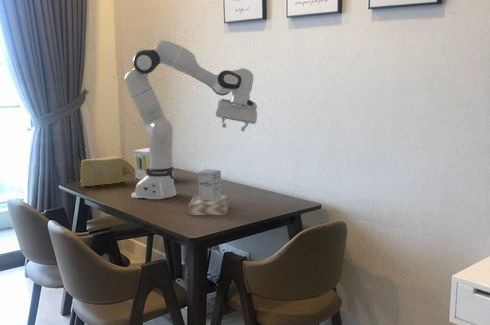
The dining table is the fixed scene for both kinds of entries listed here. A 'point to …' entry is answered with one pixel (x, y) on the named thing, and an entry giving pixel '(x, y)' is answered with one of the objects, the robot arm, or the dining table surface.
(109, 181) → the cheese
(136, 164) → the supplement box
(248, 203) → the dining table surface
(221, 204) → the block
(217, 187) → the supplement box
